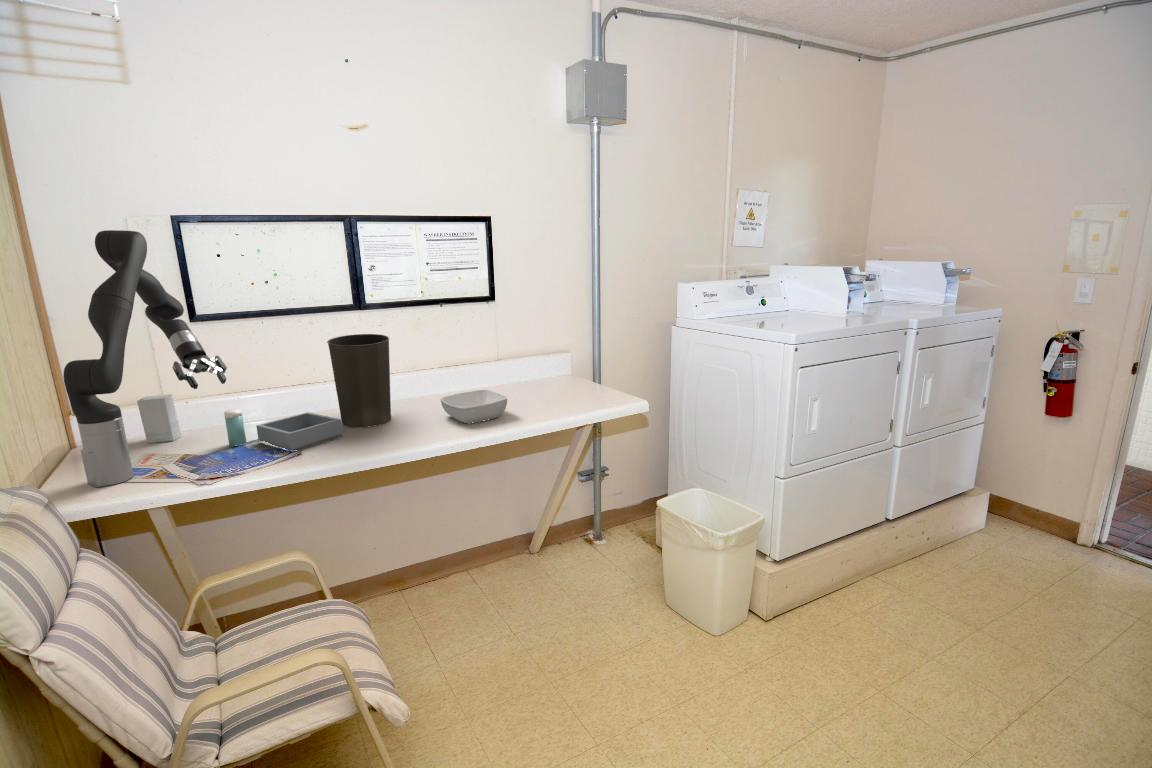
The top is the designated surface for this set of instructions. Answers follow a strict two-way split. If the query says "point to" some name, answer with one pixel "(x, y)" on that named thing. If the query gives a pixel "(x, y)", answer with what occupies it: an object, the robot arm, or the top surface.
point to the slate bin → (300, 431)
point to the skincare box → (159, 418)
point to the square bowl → (474, 405)
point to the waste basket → (362, 378)
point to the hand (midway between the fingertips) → (210, 384)
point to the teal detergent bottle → (235, 427)
